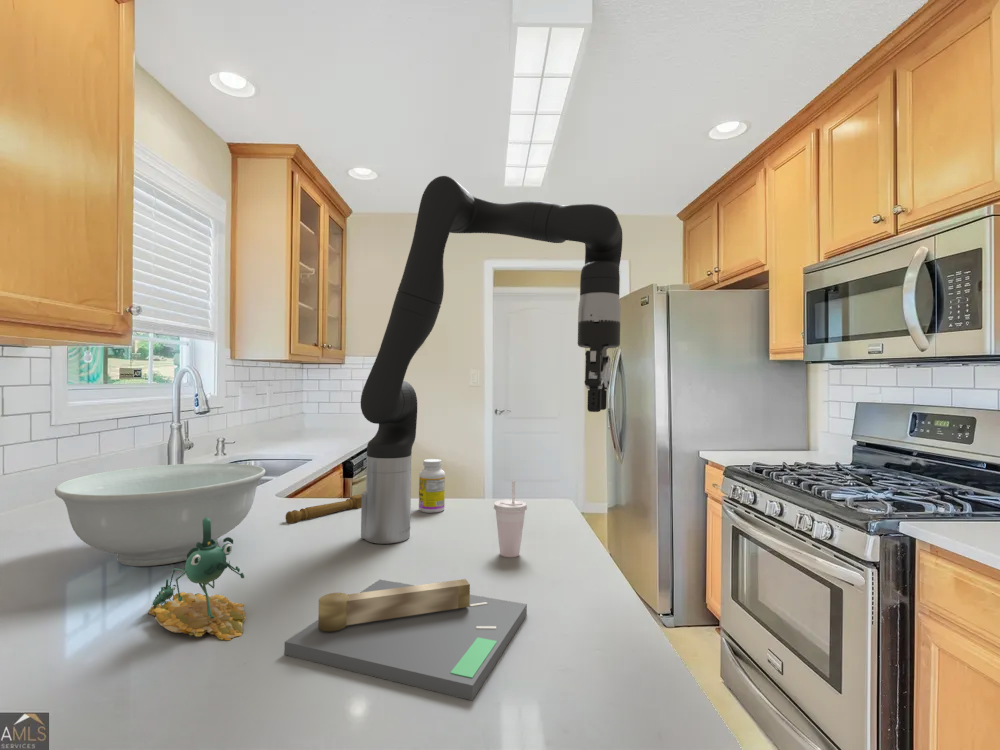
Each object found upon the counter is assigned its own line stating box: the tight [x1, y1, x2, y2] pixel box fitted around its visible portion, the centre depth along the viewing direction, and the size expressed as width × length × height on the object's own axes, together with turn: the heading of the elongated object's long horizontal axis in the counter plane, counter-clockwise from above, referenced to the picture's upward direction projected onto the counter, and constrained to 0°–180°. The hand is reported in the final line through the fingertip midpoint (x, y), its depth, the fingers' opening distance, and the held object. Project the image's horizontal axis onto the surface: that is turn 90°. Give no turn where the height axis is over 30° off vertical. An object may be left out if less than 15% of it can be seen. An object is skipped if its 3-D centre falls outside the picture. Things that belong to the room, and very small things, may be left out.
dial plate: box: [283, 579, 528, 701], centre depth 63 cm, size 24×20×2 cm
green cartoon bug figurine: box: [148, 517, 247, 641], centre depth 66 cm, size 10×18×15 cm, turn 57°
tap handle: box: [285, 493, 362, 524], centre depth 124 cm, size 3×3×30 cm
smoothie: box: [493, 480, 528, 558], centre depth 94 cm, size 6×6×14 cm
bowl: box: [54, 462, 266, 567], centre depth 92 cm, size 32×32×15 cm
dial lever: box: [317, 578, 471, 631], centre depth 64 cm, size 19×4×3 cm, turn 111°
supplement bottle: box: [418, 458, 446, 514], centre depth 126 cm, size 7×7×13 cm
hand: (597, 410), depth 88 cm, fingers open, 8 cm apart
